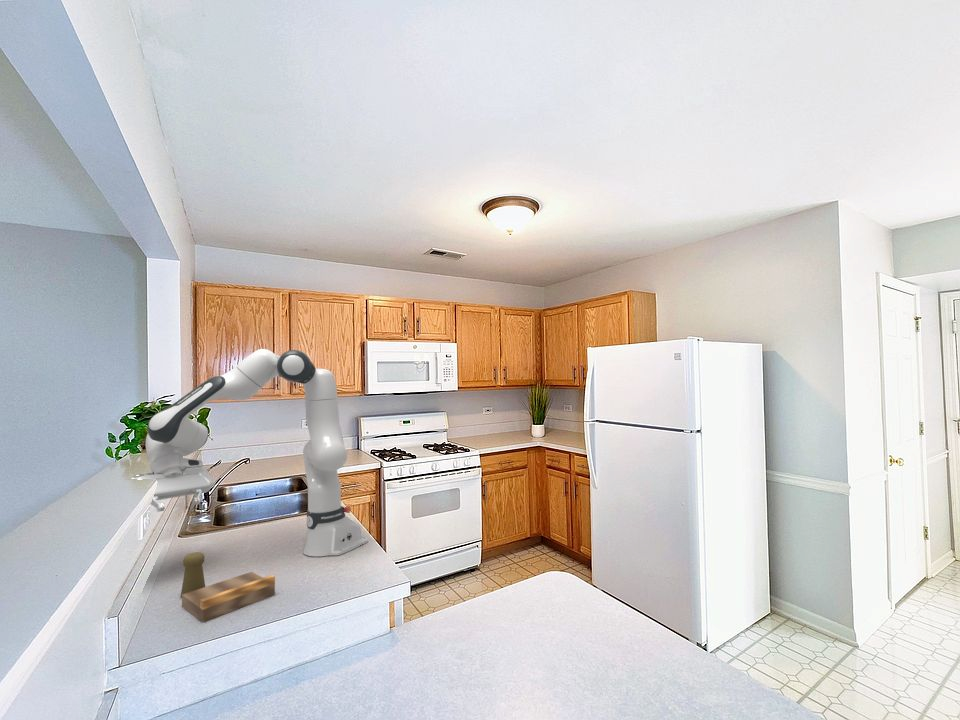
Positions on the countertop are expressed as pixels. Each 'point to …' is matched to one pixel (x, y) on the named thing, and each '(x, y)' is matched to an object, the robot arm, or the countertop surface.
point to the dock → (227, 606)
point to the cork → (193, 572)
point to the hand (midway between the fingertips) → (179, 506)
